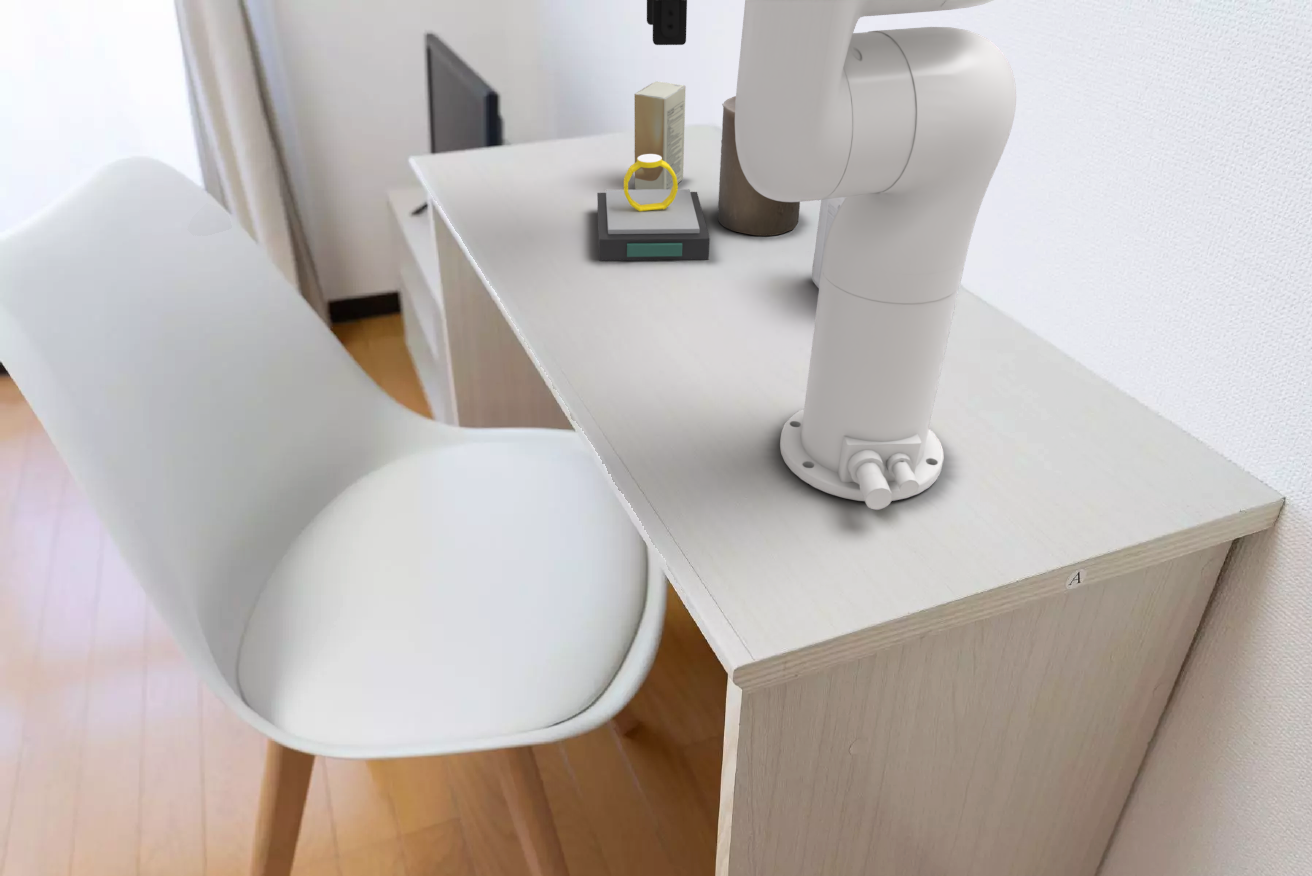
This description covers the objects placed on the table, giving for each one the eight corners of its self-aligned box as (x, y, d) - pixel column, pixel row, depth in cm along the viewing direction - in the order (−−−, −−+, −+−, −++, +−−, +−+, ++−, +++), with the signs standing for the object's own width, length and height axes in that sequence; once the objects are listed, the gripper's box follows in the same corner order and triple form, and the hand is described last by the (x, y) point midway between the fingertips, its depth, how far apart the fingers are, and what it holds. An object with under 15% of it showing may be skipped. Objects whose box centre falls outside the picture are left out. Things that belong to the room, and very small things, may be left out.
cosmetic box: (654, 174, 128) (656, 79, 121) (684, 180, 126) (687, 84, 119) (632, 190, 123) (632, 92, 116) (663, 196, 122) (665, 97, 115)
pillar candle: (807, 234, 112) (822, 103, 104) (725, 238, 111) (733, 106, 102) (785, 203, 120) (797, 79, 112) (708, 207, 119) (715, 81, 110)
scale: (709, 261, 106) (710, 234, 104) (599, 262, 105) (599, 235, 103) (696, 211, 118) (697, 186, 116) (597, 212, 117) (597, 187, 115)
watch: (674, 203, 111) (676, 152, 108) (678, 212, 109) (679, 161, 106) (622, 205, 110) (622, 154, 107) (625, 214, 108) (625, 162, 105)
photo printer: (888, 319, 95) (909, 198, 88) (849, 324, 94) (867, 203, 87) (842, 275, 103) (858, 162, 96) (805, 280, 102) (818, 165, 95)
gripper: (623, -170, 95) (624, 17, 104) (631, -163, 80) (632, 53, 90) (699, -169, 95) (693, 17, 105) (720, -162, 81) (712, 52, 90)
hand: (665, 33), depth 97 cm, fingers open, 9 cm apart
